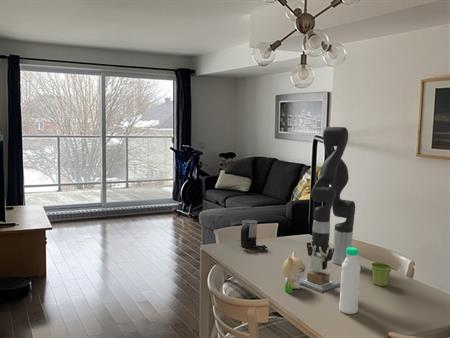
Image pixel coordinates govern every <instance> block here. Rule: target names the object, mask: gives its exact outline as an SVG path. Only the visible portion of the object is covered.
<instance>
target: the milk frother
mask: <svg viewBox="0 0 450 338" xmlns="http://www.w3.org/2000/svg"><path fill="white" fill-rule="evenodd" d="M241 222H242V223H241V224H242V225H241V226H242V227H241V228H240V246H241V247H242V248H245V249H253V248H257V249H262V251H265V250H266V249H268V246H266V244H265V245H264V244H262V245H260V244H259V245H257V230H258V220H254V219H244V220H241Z"/></svg>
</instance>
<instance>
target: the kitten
mask: <svg viewBox="0 0 450 338" xmlns="http://www.w3.org/2000/svg"><path fill="white" fill-rule="evenodd" d="M281 271H282V275H283V277H285V282H284V283H285V285H284V292H285V293H286V294H292V293H293V290H295V289H297V290H300V289H301V286H302V285H300V282H299V279H302V278H304V275H305V273H306V265H305V264H304V262H303V260H302V259H301V258H299V257H296V251H293V252H292V254H291V255H290V256H289V257H288V258H286V259H285V260H284V261H283V264H282V266H281Z"/></svg>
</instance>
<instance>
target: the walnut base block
mask: <svg viewBox="0 0 450 338" xmlns="http://www.w3.org/2000/svg"><path fill="white" fill-rule="evenodd" d="M306 277H307V281H308V282H311V283H314V284H317V285H319V286H320V285H323V284H326V283H329V279H330V273H329V272H326V271H322V272H318V271H315V270H310V271H308V272H307V276H306Z"/></svg>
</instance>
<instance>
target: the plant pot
mask: <svg viewBox="0 0 450 338" xmlns="http://www.w3.org/2000/svg"><path fill="white" fill-rule="evenodd" d="M370 266H371V271H372V283H373V284H375V285H376V286H380V287H384V286H388V283H389V278H390V273H391V271H392V270H393V266H392V265H391V264H388V263H384V262H371V263H370Z"/></svg>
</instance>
